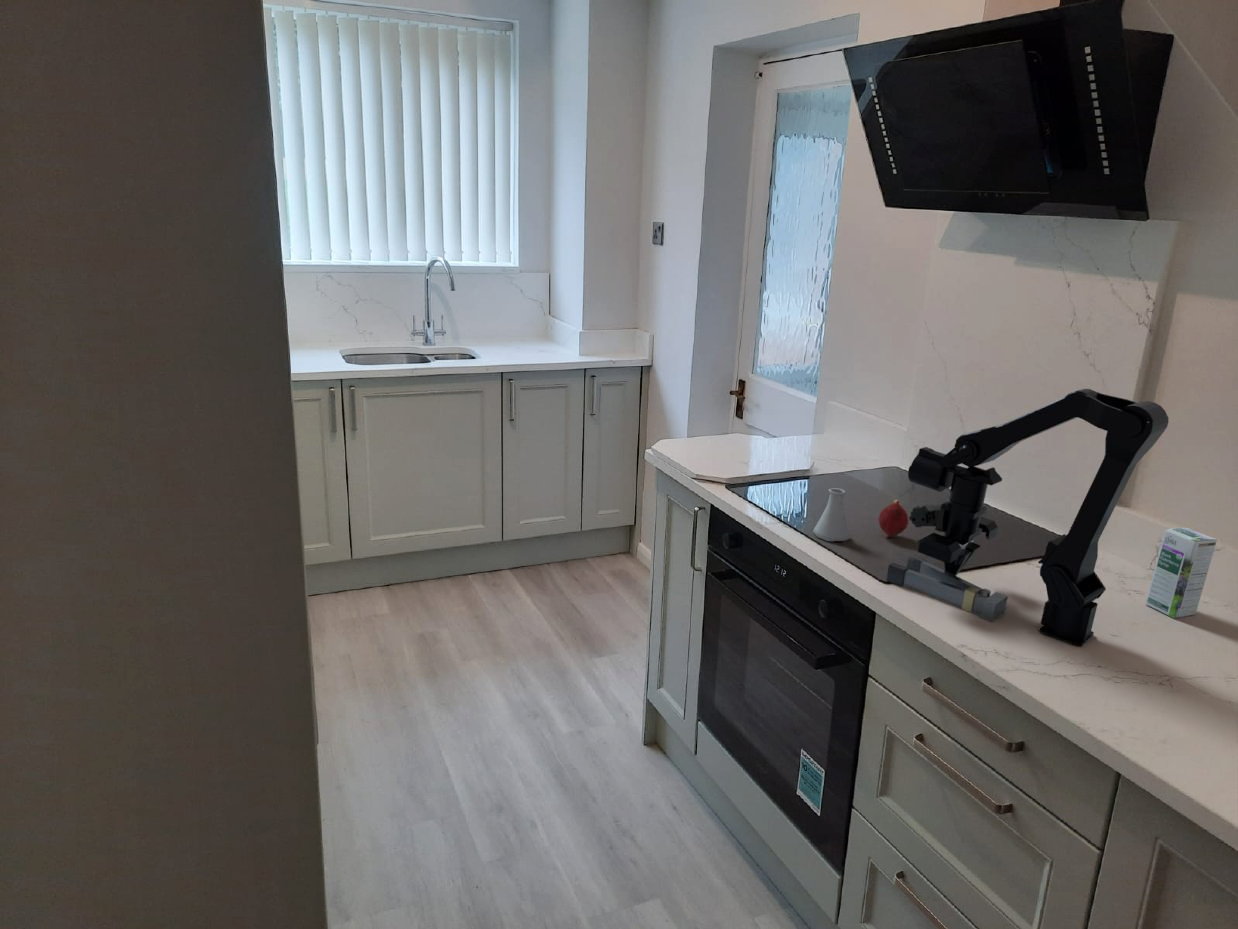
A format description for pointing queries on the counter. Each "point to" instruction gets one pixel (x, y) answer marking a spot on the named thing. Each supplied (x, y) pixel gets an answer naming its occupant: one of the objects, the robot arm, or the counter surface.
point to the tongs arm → (941, 574)
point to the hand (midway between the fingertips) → (949, 579)
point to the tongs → (949, 592)
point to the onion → (893, 519)
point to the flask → (833, 519)
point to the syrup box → (1180, 572)
